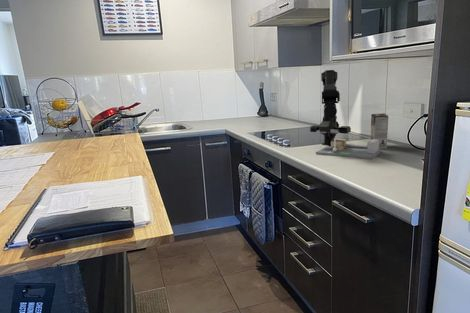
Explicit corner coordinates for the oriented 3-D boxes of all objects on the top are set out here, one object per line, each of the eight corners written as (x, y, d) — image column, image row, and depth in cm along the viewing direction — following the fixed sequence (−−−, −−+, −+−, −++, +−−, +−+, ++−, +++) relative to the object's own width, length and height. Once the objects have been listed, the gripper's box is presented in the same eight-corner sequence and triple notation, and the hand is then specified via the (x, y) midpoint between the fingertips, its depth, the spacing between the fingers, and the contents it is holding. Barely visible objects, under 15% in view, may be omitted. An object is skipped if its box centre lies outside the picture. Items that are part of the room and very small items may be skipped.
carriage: (336, 146, 166) (336, 138, 166) (346, 147, 163) (346, 139, 163) (327, 151, 157) (326, 143, 156) (337, 152, 154) (337, 144, 153)
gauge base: (328, 147, 171) (328, 136, 169) (381, 151, 155) (381, 139, 154) (315, 154, 159) (315, 141, 158) (372, 159, 144) (372, 145, 142)
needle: (334, 150, 156) (334, 137, 155) (336, 150, 156) (336, 137, 154) (332, 150, 155) (332, 137, 153) (335, 151, 154) (335, 137, 153)
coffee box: (370, 145, 171) (370, 113, 167) (383, 144, 169) (384, 113, 166) (373, 148, 162) (374, 116, 158) (387, 148, 161) (389, 115, 157)
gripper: (304, 116, 160) (305, 148, 164) (343, 117, 149) (342, 151, 153) (314, 113, 169) (314, 143, 173) (351, 114, 158) (350, 146, 161)
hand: (329, 146), depth 165 cm, fingers closed
